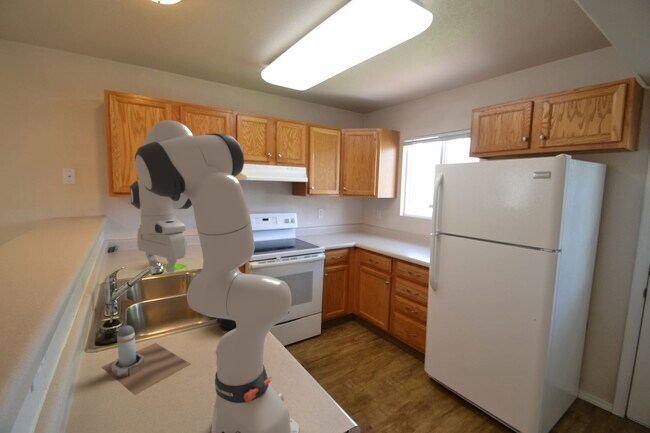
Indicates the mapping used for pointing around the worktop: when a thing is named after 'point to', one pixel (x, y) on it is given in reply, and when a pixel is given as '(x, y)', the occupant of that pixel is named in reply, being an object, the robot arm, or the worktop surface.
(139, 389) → the jig board
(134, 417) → the worktop surface
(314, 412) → the worktop surface
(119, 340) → the cylinder
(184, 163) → the robot arm
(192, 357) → the worktop surface
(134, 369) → the cradle
